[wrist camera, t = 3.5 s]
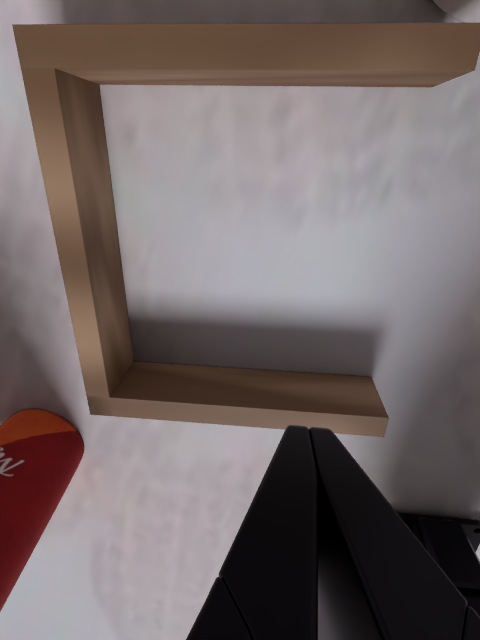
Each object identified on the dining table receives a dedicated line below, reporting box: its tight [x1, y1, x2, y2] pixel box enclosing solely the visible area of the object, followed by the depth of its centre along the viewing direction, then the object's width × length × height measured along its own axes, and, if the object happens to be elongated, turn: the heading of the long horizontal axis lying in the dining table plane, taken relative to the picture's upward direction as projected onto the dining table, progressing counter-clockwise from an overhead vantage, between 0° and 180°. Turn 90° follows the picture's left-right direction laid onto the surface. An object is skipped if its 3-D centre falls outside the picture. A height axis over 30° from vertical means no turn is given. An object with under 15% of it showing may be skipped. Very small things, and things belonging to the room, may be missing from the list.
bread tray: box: [12, 23, 480, 437], centre depth 17 cm, size 16×15×4 cm
